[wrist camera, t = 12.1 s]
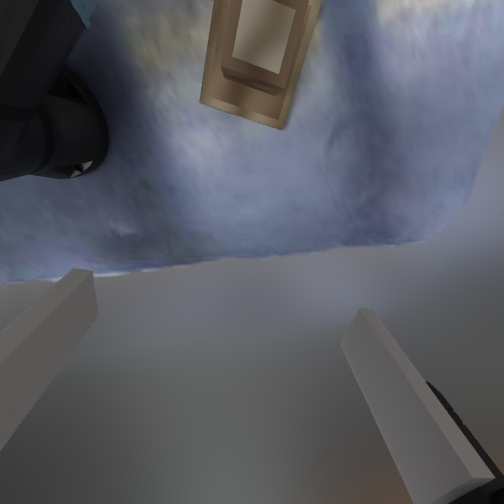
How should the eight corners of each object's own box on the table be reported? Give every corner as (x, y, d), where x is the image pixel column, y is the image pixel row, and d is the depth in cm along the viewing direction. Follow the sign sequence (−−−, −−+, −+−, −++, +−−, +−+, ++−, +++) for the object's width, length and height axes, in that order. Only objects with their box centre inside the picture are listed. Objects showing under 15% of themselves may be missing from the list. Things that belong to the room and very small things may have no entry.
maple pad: (201, 103, 32) (199, 102, 30) (222, -37, 26) (221, -49, 24) (280, 129, 35) (282, 130, 33) (317, 6, 28) (323, -2, 26)
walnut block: (224, 78, 29) (220, 65, 23) (237, 5, 26) (236, -33, 20) (275, 95, 31) (284, 88, 24) (293, 28, 27) (309, 0, 21)
